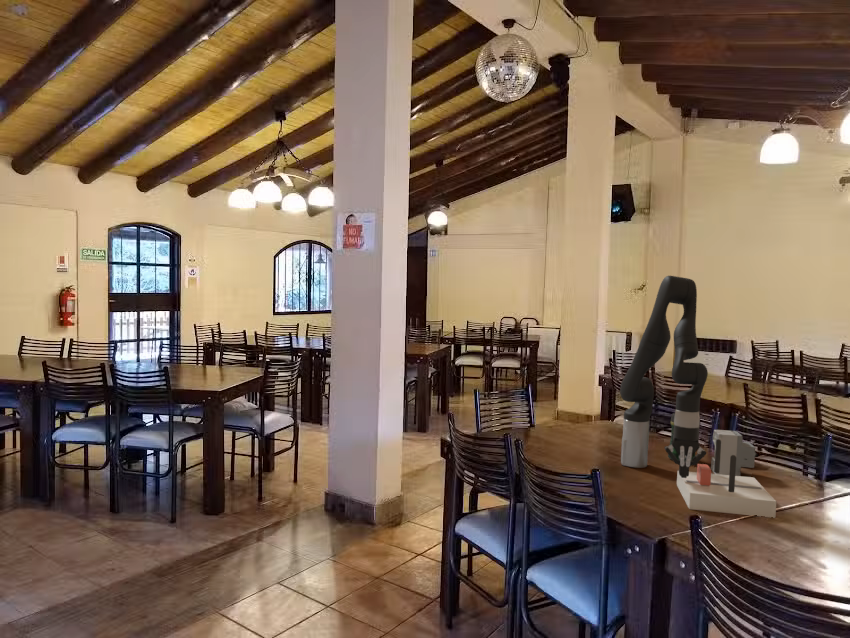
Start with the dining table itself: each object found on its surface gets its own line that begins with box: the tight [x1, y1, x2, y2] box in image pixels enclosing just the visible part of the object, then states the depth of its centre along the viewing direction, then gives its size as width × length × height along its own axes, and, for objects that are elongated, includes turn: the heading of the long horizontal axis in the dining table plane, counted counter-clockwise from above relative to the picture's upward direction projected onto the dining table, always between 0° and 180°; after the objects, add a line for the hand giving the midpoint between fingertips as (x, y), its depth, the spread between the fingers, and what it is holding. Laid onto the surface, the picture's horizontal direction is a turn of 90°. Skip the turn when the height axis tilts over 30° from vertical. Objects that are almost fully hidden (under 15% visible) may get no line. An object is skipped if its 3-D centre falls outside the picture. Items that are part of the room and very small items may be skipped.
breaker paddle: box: [696, 463, 712, 485], centre depth 204 cm, size 3×6×5 cm, turn 167°
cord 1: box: [713, 439, 721, 474], centre depth 212 cm, size 2×2×11 cm
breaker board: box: [676, 470, 777, 519], centre depth 203 cm, size 24×24×5 cm
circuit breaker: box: [710, 429, 759, 476], centre depth 233 cm, size 8×14×15 cm, turn 78°
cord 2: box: [728, 455, 736, 492], centre depth 193 cm, size 2×2×11 cm
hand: (683, 477), depth 206 cm, fingers closed
